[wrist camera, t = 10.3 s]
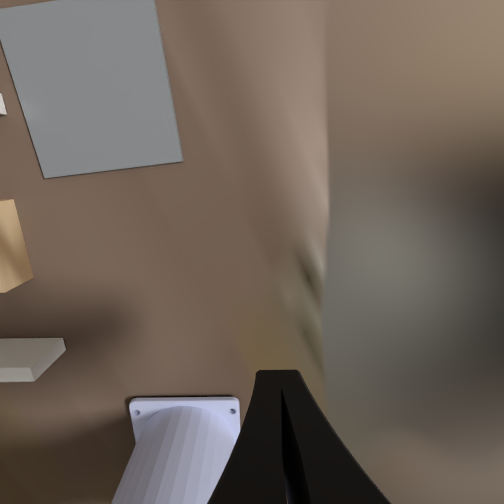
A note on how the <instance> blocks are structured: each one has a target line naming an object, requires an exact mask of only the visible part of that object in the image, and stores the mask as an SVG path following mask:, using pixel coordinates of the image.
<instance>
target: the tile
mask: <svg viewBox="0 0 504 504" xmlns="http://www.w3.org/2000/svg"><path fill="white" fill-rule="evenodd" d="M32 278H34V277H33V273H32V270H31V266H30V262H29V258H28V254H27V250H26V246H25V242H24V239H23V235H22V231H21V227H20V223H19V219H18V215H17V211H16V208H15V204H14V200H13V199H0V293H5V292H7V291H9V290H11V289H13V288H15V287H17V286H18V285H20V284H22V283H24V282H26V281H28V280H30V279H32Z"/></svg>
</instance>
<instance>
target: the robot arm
mask: <svg viewBox="0 0 504 504" xmlns="http://www.w3.org/2000/svg"><path fill="white" fill-rule="evenodd" d="M129 409H130V414H131V420H132V425H133V431H134V436H135V441H136V445H135V447H134V450H133V452H132V455H131V457H130V459H129V462H128V464H127V467H126V469H125V471H124V474H123V476H122V479H121V481H120V483H119V486H118V488H117V490H116V493H115V495H114V498H113V500H112V502H111V504H287V500H288V504H391V503H390V502H389V501H388V499H387V498H386V497H385V496H384V495H383V493H382V492H381V491H380V490H379V489H378V487H377V486H376V485H375V484H374V483H373V481H372V480H371V479H370V478H369V477H368V475H367V474H366V473H365V472H364V470H363V469H362V468H361V466H360V465H359V464H358V462H357V461H356V460H355V459H354V457H353V456H352V454H351V453H350V452H349V450H348V449H347V448H346V446H345V445H344V444H343V442H342V441H341V439H340V438H339V437H338V435H337V434H336V432H335V431H334V429H333V428H332V426H331V425H330V423H329V422H328V420H327V419H326V417H325V416H324V414H323V413H322V411H321V409H320V408H319V406H318V405H317V403H316V401H315V400H314V398H313V396H312V394H311V393H310V391H309V389H308V387H307V385H306V384H305V382H304V380H303V378H302V376H301V373H300V372H299V371H298V370H259V371H258V372H257V373H256V379H255V385H254V390H253V394H252V397H251V401H250V405H249V408H248V411H247V413H246V416H245V419H244V422H243V425H242V428H241V431H240V410H239V400H238V399H237V398H235V397H176V398H134V399H132V400H131V402H130V404H129ZM231 409H235V410H231ZM137 410H139V411H137ZM285 488H286V489H285ZM286 494H287V498H286Z"/></svg>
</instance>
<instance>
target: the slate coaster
mask: <svg viewBox="0 0 504 504" xmlns="http://www.w3.org/2000/svg"><path fill="white" fill-rule="evenodd" d="M0 40H1V44H2V47H3V50H4V53H5V56H6V59H7V62H8V66H9V69H10V72H11V75H12V78H13V81H14V84H15V87H16V91H17V94H18V97H19V100H20V103H21V106H22V109H23V112H24V116H25V119H26V122H27V125H28V128H29V131H30V134H31V138H32V141H33V144H34V147H35V150H36V153H37V156H38V159H39V163H40V166H41V169H42V172H43V175H44V178H53V177H61V176H69V175H77V174H85V173H93V172H101V171H109V170H117V169H126V168H134V167H142V166H150V165H158V164H166V163H174V162H182V161H183V155H182V150H181V144H180V138H179V133H178V127H177V122H176V116H175V111H174V105H173V99H172V94H171V88H170V83H169V77H168V71H167V66H166V60H165V55H164V49H163V44H162V38H161V32H160V27H159V21H158V16H157V10H156V5H155V0H57V1H50V2H43V3H37V4H30V5H23V6H17V7H10V8H4V9H0Z"/></svg>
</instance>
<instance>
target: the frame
mask: <svg viewBox="0 0 504 504" xmlns="http://www.w3.org/2000/svg"><path fill="white" fill-rule="evenodd" d="M0 115H7V113H6V110H5V106H4V102H3V98H2V94H0ZM65 351H66V348H65V344H64V340H63V338H6V339H0V382H34V381H35V380H36V379H37V378H38V377H39V376H40V375H41V374H42V373H43V372H44V371H45V370H46V369H47V368H48V367H49V366H50V365H51V364H52V363H53V362H54V361H55V360H56V359H58V358H59V357H60V356H61V355H62V354H63V353H64V352H65Z"/></svg>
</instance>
